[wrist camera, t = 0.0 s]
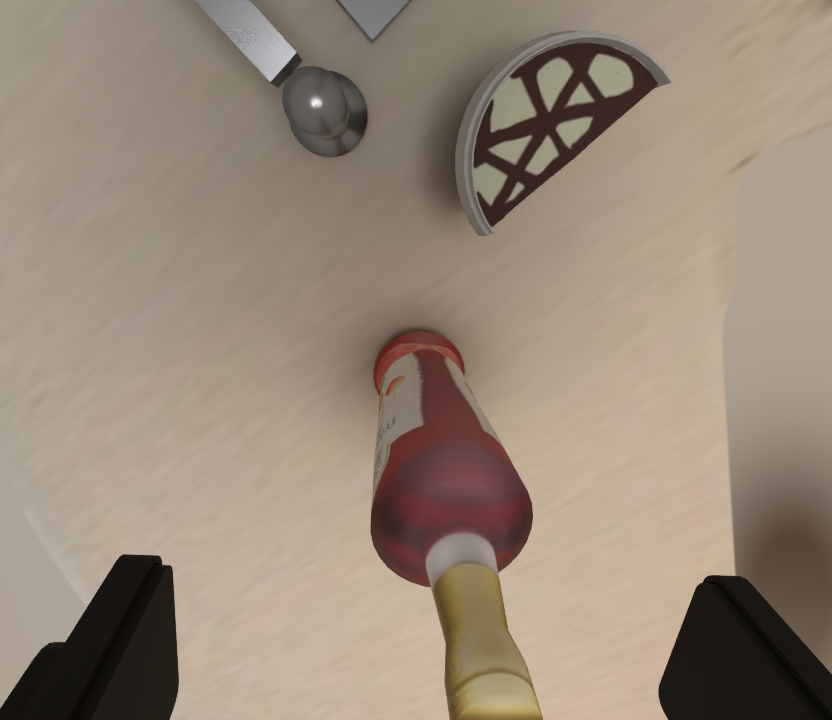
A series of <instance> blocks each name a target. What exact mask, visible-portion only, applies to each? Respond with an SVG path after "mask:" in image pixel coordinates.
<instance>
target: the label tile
mask: <svg viewBox="0 0 832 720" xmlns="http://www.w3.org/2000/svg"><path fill="white" fill-rule="evenodd" d="M337 1H338V2H339V4H340V5H341V6H342V7H343V8H344V9H345V11H346V12H347V13H348V14H349V15H350V17H351V18H352V19H353V20H354V21H355V23H356V24H357V25H358V26H359V27H360V29H361V30H362V31H363V32H364V33H365V35H366V36H367V37H368V38H369V39H370V40H371V42H372V43H373V42H374V40H375V39H376V38H377V37H378V36H379V35H380V34H381V33H382V32H383V31H384V29H385V28H386V27H387V26H388V25H389V24H390V23H391V22H392V21H393V20H394V19H395V17H396V16H397V15H398V14H399V13H400V12H401V11H402V10H403V9H404V8H405V7H406V5H407V4H408V3H409V2H410V1H411V0H337Z"/></svg>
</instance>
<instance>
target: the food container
mask: <svg viewBox="0 0 832 720" xmlns="http://www.w3.org/2000/svg"><path fill="white" fill-rule="evenodd" d="M671 82H672V80H671V78H670V77H669V75H668V74H667V73H666V71H665V70H664V68H663V67H662V66H661V65H660V64H659V63H658V62H657V61H656V60H655V59H654V58H653V57H652V56H651V55H650V54H649V53H647V52H646V51H644V50H643V49H642V48H640V47H639V46H637V45H636V44H634V43H633V42H630V41H628V40H626V39H623V38H621V37H619V36H616V35H612V34H607V33H602V32H596V31H564V32H558V33H552V34H548V35H546V36H543V37H540V38H537V39H534V40H532V41H530V42H528V43H526V44H524V45H523V46H521V47H519V48H517V49H515V50H514V51H513V52H511V53H510V54H509V55H508V56H506V57H505V58H504V59H503V60H501V61H500V62H499V63H498V64H497V65H496V66H495V67H494V68H493V69H492V70H491V71H490V73H489V74H488V75H487V76H486V77H485V78H484V80H483V81H482V83H481V84H480V85H479V87H478V88H477V90H476V91H475V93H474V94H473V96H472V98H471V100H470V103H469V105H468V107H467V109H466V111H465V113H464V116H463V119H462V122H461V126H460V129H459V132H458V138H457V144H456V150H455V175H456V183H457V190H458V193H459V197H460V200H461V204H462V207H463V209H464V211H465V214H466V216H467V218H468V220H469V222H470V224H471V225H472V227H473V228H474V230H475V231H476V233H477V234H478V235H479V236H487V235H488V234H489V233H492V234H494V231H493V230H492V228H491V227H492V226H494V225H495V224H496V223H497V222H499V221H500V220H502V219H503V218H504V217H505V216H506V215H507V214H508V213H509V212H510V211H511V210H512V209H513V208H514V207H515V206H517V205H518V204H519V203H520V202H521V201H523V200H524V199H525V198H526V197H527V196H529V195H530V194H531V193H532V192H533V191H535V190H536V189H537V188H538V187H539V186H541V185H542V184H543V183H544V182H545V181H547V180H548V179H549V178H550V177H551V176H553V175H554V174H555V173H556V172H558V171H559V170H560V169H561V168H563V167H564V166H565V165H566V164H568V163H569V162H570V161H571V160H573V159H574V158H575V157H576V156H577V155H578V154H579V153H581V152H582V151H583V150H584V149H585V148H586V147H587V146H588V145H589V144H590V143H591V142H593V141H594V140H595V139H596V138H597V137H598V136H599V135H600V134H602V133H603V132H604V131H605V130H606V129H607V128H608V127H610V126H611V125H612V124H613V123H614V122H615V121H617V120H618V119H619V118H620V117H621V116H622V115H624V114H625V113H626V112H627V111H628V110H629V109H631V108H632V107H633V106H634V105H635V104H636V103H638V102H639V101H640V100H641V99H642V98H643V97H644V96H646V95H647V94H648V93H649V92H650V91H651V90H653V89H654V88H657V87H660V86H663V85H665V84H668V83H671Z"/></svg>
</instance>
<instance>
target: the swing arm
mask: <svg viewBox="0 0 832 720" xmlns="http://www.w3.org/2000/svg"><path fill="white" fill-rule="evenodd" d="M194 1H195V2H196V3H197V4H198V5H199V6H200V7H201V8H202V9H203V11H204V12H205V13H206V14H207V15H208V16H209V17H210V18H211V19H212V20H213V21H214V22H215V23H216V24H217V26H218V27H219V28H220V29H221V30H222V31H223V32H224V33H225V34H226V35H227V36H228V37H229V38H230V39H231V41H232V42H233V43H234V44H235V45H236V46H237V47H238V48H239V49H240V50H241V51H242V52H243V53H244V54H245V56H246V57H247V58H248V59H249V60H250V61H251V62H252V63H253V64H254V65H255V66H256V67H257V68H258V69H259V70H260V72H261V73H262V74H263V75H264V76H265V77H266V78H267V79H268V80H269V81H270V82H271V83H272V84H274V85H275V86H276V87H279V86H280V85H281V84H282V83H283V82H284V81H285V80H286V78H287V77H288V76H289V75H290V74H291V73H292V72H293V71H294V69H295V68H296V67H297V66H298V65H299V64H300V63H301V62H302V59H301V58H300V56H299V55H298V54H297V52H296V51H295V50H294V49H293V48H292V47H291V46H290V44H289V43H288V42H287V41H286V40H285V39H284V38H283V37H282V36H281V34H280V33H279V32H278V31H277V30H276V29H275V28H274V27H273V26H272V24H271V23H270V22H269V21H268V20H267V19H266V18H265V17H264V15H263V14H262V13H261V12H260V11H259V10H258V9H257V8H256V7H255V5H254V4H253V3H252V2H251V1H250V0H194Z"/></svg>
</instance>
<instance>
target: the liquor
mask: <svg viewBox="0 0 832 720" xmlns="http://www.w3.org/2000/svg"><path fill="white" fill-rule="evenodd" d="M464 373H465V370H464V363H463V360H462V357H461V355H460V353H459V352H458V350H457V348H456V347H455V346H454V345H453V344H452V343H451V342H450V341H448V340H447V339H446V338H444V337H442V336H440V335H438V334H435V333H431V332H425V331H416V332H410V333H406V334H404V335H401V336H399V337H397V338H395V339H394V340H392V341H391V342H390V343H388V344H387V345H386V346H385V347H384V348H383V350H382V351H381V352H380V354H379V356H378V358H377V360H376V363H375V367H374V383H375V387H376V390H377V392H378V394H379V396H380V404H379V422H378V432H377V441H376V450H375V459H374V479H373V497H372V510H371V536H372V541H373V545H374V547H375V549H376V551H377V553H378V555H379V557H380V558H381V560H382V561H383V562H384V563H385V564H386V566H387V567H388V568H389V569H391V570H392V571H393V572H394V573H396V574H397V575H398V576H400V577H402V578H404V579H406V580H408V581H410V582H412V583H415V584H418V585H422V586H425V587H431V589H432V593H433V597H434V600H435V604H436V608H437V612H438V616H439V620H440V623H441V627H442V631H443V635H444V639H445V643H446V656H445V689H446V696H447V703H448V710H449V717H450V720H543V717H542V714H541V711H540V707H539V704H538V701H537V698H536V694H535V691H534V688H533V684H532V681H531V678H530V675H529V671H528V668H527V665H526V663H525V661H524V659H523V657H522V655H521V653H520V651H519V649H518V648H517V646H516V644H515V642H514V640H513V638H512V636H511V634H510V633H509V631H508V626H507V621H506V615H505V609H504V603H503V598H502V592H501V586H500V580H499V575H498V573H499V572H500V571H501V570H503V569H504V568H505V567H506V566H508V565H509V564H510V563H511V562H512V561H513V560H514V559H515V558H516V557H517V556H518V554H519V553H520V551H521V550H522V548H523V547H524V545H525V544H526V542H527V539H528V537H529V534H530V531H531V527H532V520H533V511H532V503H531V500H530V497H529V494H528V491H527V489H526V487H525V486H524V484H523V482H522V480H521V479H520V477H519V475H518V473H517V471H516V470H515V468H514V466H513V464H512V462H511V460H510V458H509V457H508V455H507V453H506V451H505V449H504V447H503V445H502V443H501V441H500V440H499V438H498V436H497V434H496V433H495V431H494V429H493V428H492V426H491V424H490V423H489V421H488V419H487V418H486V416H485V415H484V413H483V411H482V410H481V408H480V406H479V404H478V403H477V401H476V399H475V397H474V395H473V393H472V391H471V389H470V387H469V386H468V384H467V382H466V380H465V378H464Z"/></svg>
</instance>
